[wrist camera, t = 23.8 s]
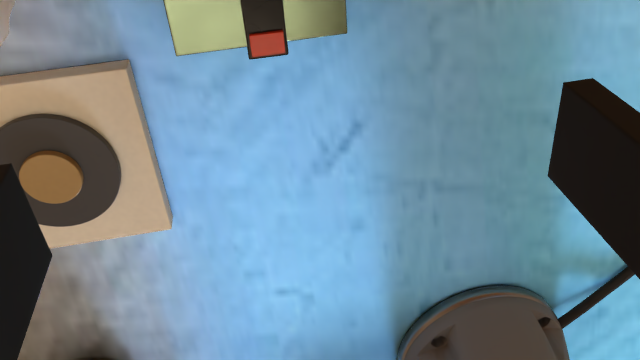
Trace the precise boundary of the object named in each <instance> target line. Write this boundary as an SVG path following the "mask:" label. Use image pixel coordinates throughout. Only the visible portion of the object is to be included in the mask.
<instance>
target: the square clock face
mask: <svg viewBox="0 0 640 360" xmlns="http://www.w3.org/2000/svg"><path fill="white" fill-rule="evenodd" d="M163 1H164V5H165V10H166V14H167V18H168V23H169V27H170V31H171V36H172V40H173V44H174V49H175V53H176V56H181V55H189V54H196V53H204V52H211V51H219V50H226V49H234V48H241V47H247V43H246V36H245V30H244V23H243V17H242V10H241V4H240V0H163ZM283 7H284V16H285V26H286V35H287V41H294V40H301V39H309V38H316V37H324V36H331V35H339V34H346V33H347V18H346V0H283Z"/></svg>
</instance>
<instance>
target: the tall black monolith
mask: <svg viewBox="0 0 640 360" xmlns="http://www.w3.org/2000/svg"><path fill="white" fill-rule="evenodd" d="M240 4H241V10H242V17H243V23H244V30H245V36H246V43H247V49H248V55H249V59H258V58H266V57H273V56H281V55H288V44H287V35H286V26H285V16H284V7H283V0H240Z"/></svg>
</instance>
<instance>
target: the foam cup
mask: <svg viewBox="0 0 640 360" xmlns="http://www.w3.org/2000/svg"><path fill="white" fill-rule="evenodd" d="M15 1H16V0H0V47H1V46H2V44H3V42H4V41H5V39H6V37H7V36H8V34H9V17H10V14H11V11H12V9H13V6H14V4H15Z"/></svg>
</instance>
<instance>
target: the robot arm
mask: <svg viewBox="0 0 640 360" xmlns="http://www.w3.org/2000/svg"><path fill="white" fill-rule="evenodd" d="M548 177H549V178H550V179H551V180H552V181H553V182H554V184H555V185H556V186H557V187H558V188H559V189H560V190H561V191H562V193H563V194H564V195H565V196H566V197H567V198H568V199H569V200H570V202H571V203H572V204H573V205H574V206H575V207H576V208H577V209H578V210H579V212H580V213H581V214H582V215H583V216H584V217H585V218H586V219H587V221H588V222H589V223H590V224H591V225H592V226H593V227H594V228H595V230H596V231H597V232H598V233H599V234H600V235H601V236H602V237H603V239H604V240H605V241H606V242H607V243H608V244H609V245H610V246H611V248H612V249H613V250H614V251H615V252H616V253H617V254H618V255H619V257H620V258H621V259H622V260H623V261H624V262H625V263H626V264H627V266H628V267H627V268H625V269H624V270H623V271H621V272H620V273H619V274H618V275H616V276H615V277H614V278H612V279H611V280H610V281H608V282H607V283H606V284H604V285H603V286H602V287H600V288H599V289H598V290H596V291H595V292H594V293H593V294H591V295H590V296H589V297H587V298H586V299H585V300H583V301H582V302H581V303H579V304H578V305H577V306H575V307H574V308H573V309H571V310H570V311H569V312H567V313H566V314H564V315H563V316H562V317H560V318H559V319H557V317H556V315H555V314H554V312H553V311H552V309H551V308H550V306H549V305H548V303H547V302H546V301H545V300H544V299H543V298H542V297H540V296H539V295H538V294H536V293H534V292H532V291H530V290H527V289H524V288H520V287H514V286H489V287H482V288H477V289H473V290H469V291H466V292H463V293H460V294H458V295H455V296H453V297H451V298H449V299H447V300H445V301H443V302H441V303H439V304H438V305H436V306H435V307H433V308H432V309H430V310H429V311H428V312H426V313H425V314H424V315H423V316H422V317H420V318H419V319H418V320H417V321H416V322H415V323H414V325H413V326H412V327H411V328H410V329H409V331H408V332H407V334H406V335H405V337H404V339H403V341H402V343H401V346H400V348H399V353H398V360H570V359H569V355H568V350H567V346H566V342H565V337H564V333H563V330H562V329H563V328H564V327H566V326H567V325H568V324H570V323H571V322H573V321H574V320H575V319H577V318H578V317H580V316H581V315H582V314H584V313H585V312H586V311H588V310H589V309H590V308H592V307H593V306H594V305H595V304H597V303H598V302H599V301H601V300H602V299H603V298H604V297H606V296H607V295H608V294H610V293H611V292H612V291H614V290H615V289H616V288H618V287H619V286H620V285H622V284H623V283H624V282H626V281H627V280H628V279H630V278H631V277H632V276H633V275H636V276H637V277H638V278H639V279H640V113H639V112H638V111H637V110H635V109H634V108H632V107H631V106H630V105H628V104H627V103H626V102H624V101H623V100H622V99H620V98H619V97H618V96H616V95H615V94H614V93H612V92H611V91H609V90H608V89H607V88H605V87H604V86H603V85H601V84H600V83H599V82H597V81H596V80H595V79H593V78H592V79H585V80H578V81H571V82H564V83H563V88H562V94H561V100H560V106H559V112H558V118H557V124H556V129H555V135H554V141H553V147H552V153H551V159H550V165H549V171H548ZM51 258H52V253H51V251H50V249H49V247H48V244H47V242H46V240H45V238H44V235H43V233H42V231H41V229H40V226H39V224H38V222H37V220H36V217H35V215H34V213H33V211H32V208H31V206H30V204H29V202H28V199H27V197H26V195H25V193H24V190H23V188H22V186H21V184H20V181H19V179H18V177H17V175H16V172H15V170H14V168H13V166H12V163H9V164H2V165H0V360H17V358H18V355H19V353H20V350H21V347H22V344H23V341H24V338H25V335H26V332H27V329H28V326H29V323H30V320H31V317H32V314H33V311H34V308H35V305H36V302H37V299H38V296H39V293H40V290H41V287H42V284H43V282H44V279H45V276H46V273H47V270H48V267H49V264H50V261H51Z"/></svg>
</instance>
